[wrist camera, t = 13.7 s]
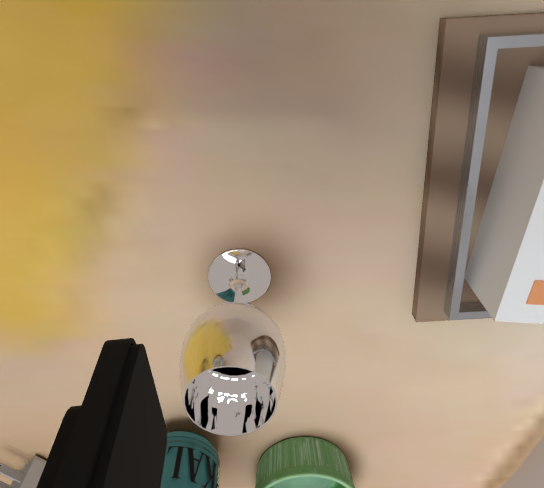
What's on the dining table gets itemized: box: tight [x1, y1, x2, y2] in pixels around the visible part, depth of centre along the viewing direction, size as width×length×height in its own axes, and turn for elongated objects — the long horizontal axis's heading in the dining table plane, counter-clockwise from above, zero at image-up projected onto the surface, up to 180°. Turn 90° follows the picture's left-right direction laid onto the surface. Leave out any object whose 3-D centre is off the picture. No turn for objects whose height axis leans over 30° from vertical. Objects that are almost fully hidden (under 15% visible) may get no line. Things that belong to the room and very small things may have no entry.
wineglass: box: [180, 249, 286, 436], centre depth 30 cm, size 6×6×12 cm
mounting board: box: [412, 13, 544, 322], centre depth 31 cm, size 20×13×2 cm, turn 3°
